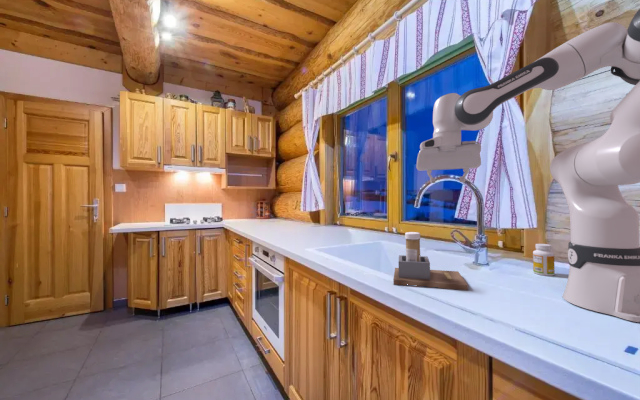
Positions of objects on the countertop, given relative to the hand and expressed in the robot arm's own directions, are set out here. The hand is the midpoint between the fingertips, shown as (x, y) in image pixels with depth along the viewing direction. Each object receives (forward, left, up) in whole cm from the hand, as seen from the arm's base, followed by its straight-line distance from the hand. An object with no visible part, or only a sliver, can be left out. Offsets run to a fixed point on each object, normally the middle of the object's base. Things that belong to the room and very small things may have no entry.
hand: (447, 182), depth 93 cm
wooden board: (+8, +12, -31) cm, 34 cm away
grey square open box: (+12, +12, -30) cm, 34 cm away
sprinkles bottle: (+12, +12, -30) cm, 34 cm away
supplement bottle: (-29, -4, -31) cm, 43 cm away
